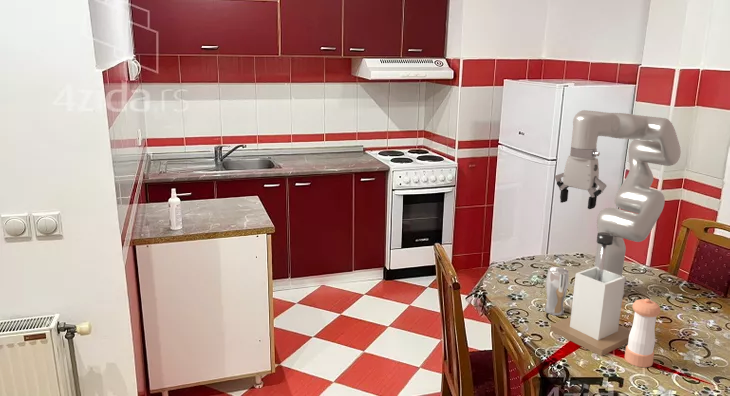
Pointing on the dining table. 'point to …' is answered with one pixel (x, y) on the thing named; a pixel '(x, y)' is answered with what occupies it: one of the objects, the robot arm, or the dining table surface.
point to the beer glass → (556, 289)
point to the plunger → (603, 250)
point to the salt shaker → (642, 333)
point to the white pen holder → (595, 313)
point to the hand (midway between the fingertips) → (577, 205)
